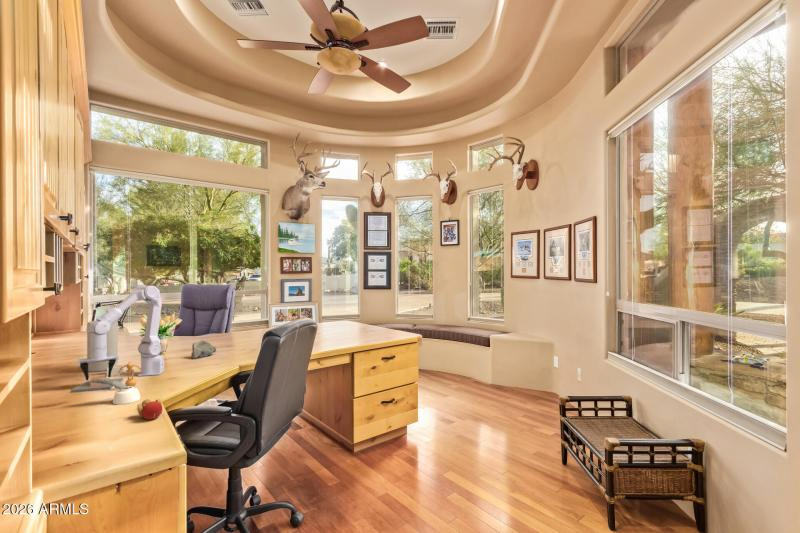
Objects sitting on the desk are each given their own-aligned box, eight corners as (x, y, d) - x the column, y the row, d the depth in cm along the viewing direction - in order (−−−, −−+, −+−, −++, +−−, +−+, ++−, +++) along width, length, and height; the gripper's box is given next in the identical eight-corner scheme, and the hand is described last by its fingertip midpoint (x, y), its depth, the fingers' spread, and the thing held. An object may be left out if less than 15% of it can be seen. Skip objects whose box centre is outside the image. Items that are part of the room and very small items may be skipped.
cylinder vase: (123, 366, 200) (123, 320, 200) (99, 372, 188) (100, 323, 188) (105, 365, 203) (105, 319, 203) (80, 371, 191) (80, 322, 191)
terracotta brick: (106, 381, 170) (106, 372, 170) (104, 384, 165) (105, 375, 165) (92, 383, 168) (92, 374, 168) (90, 386, 163) (90, 377, 163)
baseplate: (123, 380, 175) (123, 378, 175) (109, 389, 162) (109, 386, 162) (87, 382, 171) (87, 380, 171) (70, 392, 158) (70, 390, 158)
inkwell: (138, 402, 145) (138, 377, 145) (79, 410, 138) (79, 383, 138) (143, 395, 154) (143, 371, 154) (88, 402, 146) (88, 376, 146)
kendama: (131, 414, 138) (137, 421, 124) (134, 396, 139) (141, 401, 126) (155, 412, 142) (164, 420, 129) (159, 395, 144) (167, 400, 130)
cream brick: (123, 372, 189) (123, 364, 189) (119, 375, 183) (119, 367, 183) (111, 373, 187) (111, 365, 187) (107, 376, 182) (107, 368, 182)
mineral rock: (216, 354, 230) (216, 337, 230) (215, 357, 220) (215, 340, 220) (193, 355, 225) (193, 339, 225) (190, 359, 215) (190, 342, 215)
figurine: (143, 385, 168) (143, 358, 168) (140, 388, 162) (140, 361, 162) (120, 387, 164) (120, 360, 164) (117, 391, 159) (117, 363, 159)
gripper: (119, 344, 174) (119, 373, 174) (78, 348, 166) (78, 378, 166) (118, 347, 168) (118, 377, 168) (76, 351, 160) (76, 382, 160)
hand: (98, 378), depth 166 cm, fingers open, 7 cm apart
